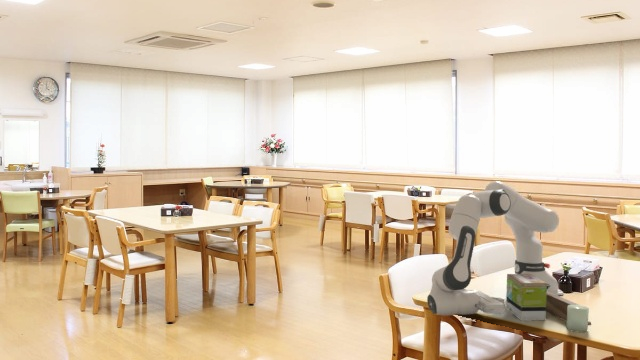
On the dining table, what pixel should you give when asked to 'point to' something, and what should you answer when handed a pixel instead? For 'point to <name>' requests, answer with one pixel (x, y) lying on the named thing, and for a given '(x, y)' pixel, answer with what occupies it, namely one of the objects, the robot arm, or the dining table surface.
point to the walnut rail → (558, 306)
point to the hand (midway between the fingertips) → (502, 300)
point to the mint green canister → (577, 318)
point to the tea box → (526, 296)
